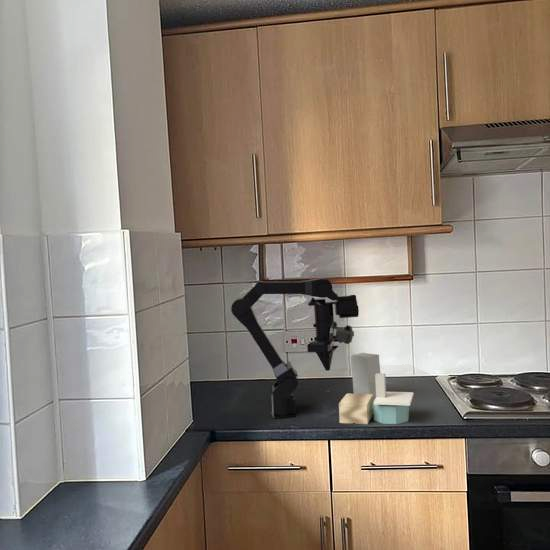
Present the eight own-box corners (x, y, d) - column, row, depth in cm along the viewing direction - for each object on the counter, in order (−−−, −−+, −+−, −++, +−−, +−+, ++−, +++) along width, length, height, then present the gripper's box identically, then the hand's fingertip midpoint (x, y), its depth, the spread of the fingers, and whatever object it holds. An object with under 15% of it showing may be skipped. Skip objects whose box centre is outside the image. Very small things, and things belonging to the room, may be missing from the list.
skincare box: (383, 399, 193) (381, 354, 193) (369, 403, 190) (367, 357, 189) (365, 395, 200) (363, 351, 200) (352, 398, 197) (350, 354, 196)
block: (339, 422, 170) (338, 403, 169) (347, 411, 181) (346, 393, 181) (367, 424, 167) (366, 404, 167) (373, 412, 179) (373, 394, 178)
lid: (373, 404, 166) (372, 378, 166) (379, 394, 178) (378, 369, 177) (410, 405, 163) (409, 379, 163) (413, 395, 175) (412, 370, 174)
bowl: (372, 423, 168) (371, 405, 168) (377, 413, 177) (376, 397, 177) (406, 424, 165) (406, 406, 165) (409, 415, 174) (409, 398, 174)
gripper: (342, 323, 168) (346, 377, 168) (357, 314, 185) (360, 364, 186) (305, 323, 172) (308, 377, 172) (323, 315, 189) (326, 364, 190)
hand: (327, 370), depth 180 cm, fingers closed
